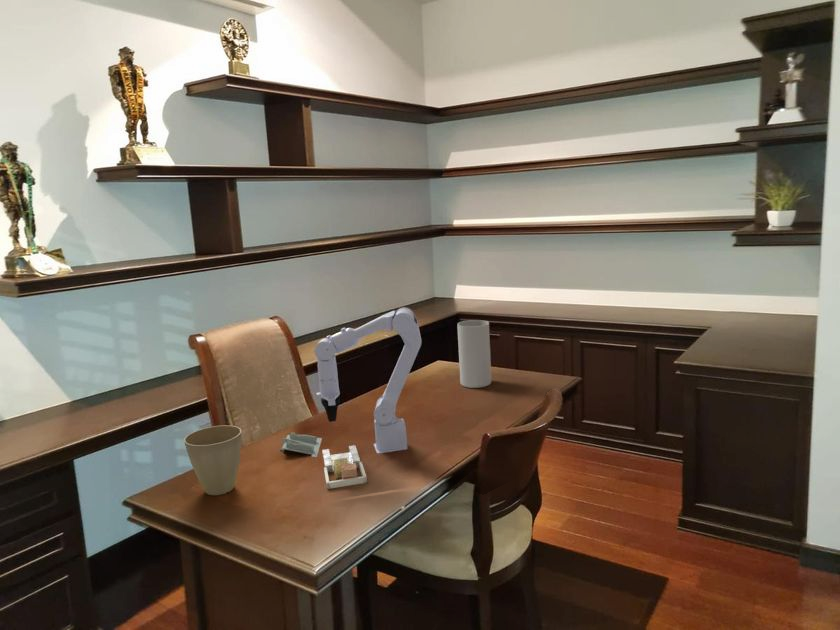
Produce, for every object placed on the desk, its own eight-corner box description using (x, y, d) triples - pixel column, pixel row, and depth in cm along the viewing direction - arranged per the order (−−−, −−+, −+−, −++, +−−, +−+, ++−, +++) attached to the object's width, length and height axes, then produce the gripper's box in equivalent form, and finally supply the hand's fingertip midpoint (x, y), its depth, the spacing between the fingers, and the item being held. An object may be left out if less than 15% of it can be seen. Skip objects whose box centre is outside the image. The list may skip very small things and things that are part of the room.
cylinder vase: (458, 380, 257) (454, 321, 252) (487, 378, 258) (485, 319, 253) (463, 389, 245) (460, 327, 240) (494, 386, 246) (492, 325, 241)
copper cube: (357, 476, 173) (355, 462, 172) (357, 482, 169) (356, 468, 168) (342, 477, 173) (341, 464, 172) (342, 484, 169) (341, 470, 168)
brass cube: (348, 470, 177) (346, 457, 176) (349, 476, 173) (348, 463, 172) (334, 473, 176) (332, 459, 175) (335, 478, 172) (334, 465, 172)
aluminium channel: (355, 453, 190) (355, 445, 190) (360, 469, 179) (360, 460, 178) (323, 457, 188) (322, 449, 188) (325, 474, 177) (325, 465, 176)
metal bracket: (279, 444, 186) (287, 426, 201) (275, 462, 187) (283, 443, 202) (326, 454, 188) (330, 435, 202) (322, 471, 189) (327, 451, 203)
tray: (362, 469, 179) (361, 461, 178) (367, 484, 169) (366, 477, 168) (324, 474, 177) (323, 467, 176) (327, 490, 167) (326, 483, 166)
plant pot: (258, 487, 171) (251, 432, 168) (207, 508, 161) (199, 450, 158) (231, 472, 182) (225, 420, 179) (182, 491, 172) (174, 436, 169)
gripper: (313, 373, 194) (317, 414, 197) (316, 386, 181) (320, 430, 183) (336, 370, 196) (340, 411, 199) (340, 383, 182) (344, 427, 185)
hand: (332, 420), depth 191 cm, fingers closed
